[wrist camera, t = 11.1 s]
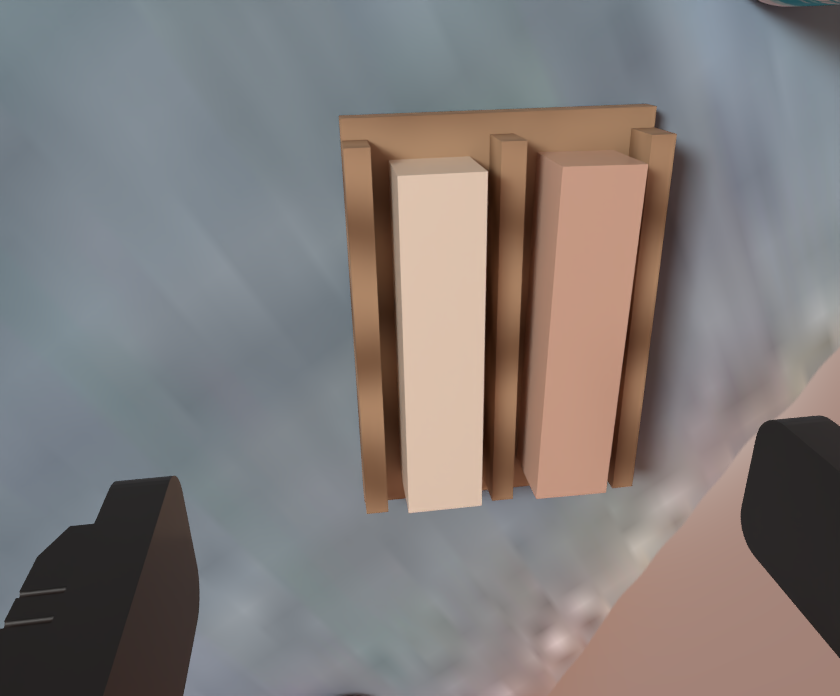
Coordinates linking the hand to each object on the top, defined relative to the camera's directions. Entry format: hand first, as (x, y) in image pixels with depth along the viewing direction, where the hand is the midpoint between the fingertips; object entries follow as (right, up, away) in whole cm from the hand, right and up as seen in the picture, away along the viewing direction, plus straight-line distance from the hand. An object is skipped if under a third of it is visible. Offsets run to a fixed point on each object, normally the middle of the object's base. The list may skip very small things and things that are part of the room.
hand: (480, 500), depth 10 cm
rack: (+3, +4, +30) cm, 30 cm away
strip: (0, +3, +28) cm, 29 cm away
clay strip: (+7, +4, +29) cm, 30 cm away
